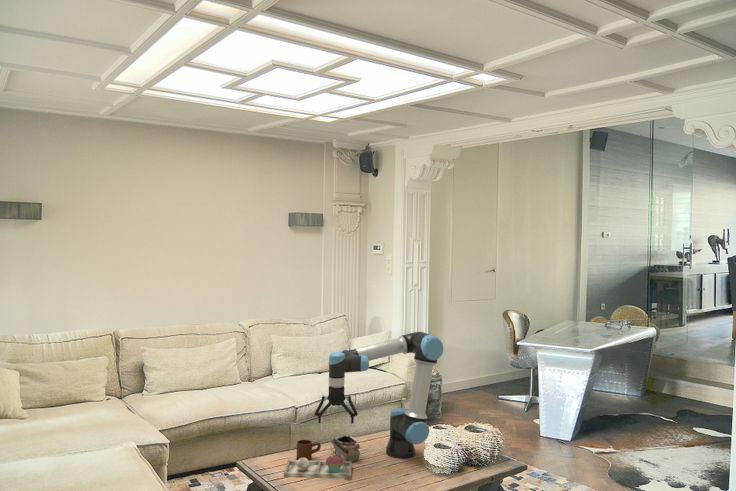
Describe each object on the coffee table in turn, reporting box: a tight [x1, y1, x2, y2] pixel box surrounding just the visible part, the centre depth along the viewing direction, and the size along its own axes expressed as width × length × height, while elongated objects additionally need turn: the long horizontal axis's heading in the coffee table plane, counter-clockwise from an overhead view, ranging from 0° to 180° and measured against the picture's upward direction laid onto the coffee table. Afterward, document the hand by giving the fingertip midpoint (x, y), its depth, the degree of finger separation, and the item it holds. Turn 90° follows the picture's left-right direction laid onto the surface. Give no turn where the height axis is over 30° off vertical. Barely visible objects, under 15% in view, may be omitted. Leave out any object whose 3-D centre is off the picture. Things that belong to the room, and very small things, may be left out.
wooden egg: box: [297, 457, 309, 471], centre depth 290 cm, size 6×6×6 cm
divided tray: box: [283, 459, 352, 481], centre depth 290 cm, size 31×16×2 cm, turn 91°
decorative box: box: [330, 434, 361, 463], centre depth 312 cm, size 13×20×10 cm, turn 20°
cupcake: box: [325, 447, 345, 473], centre depth 290 cm, size 9×8×12 cm
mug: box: [296, 439, 322, 461], centre depth 305 cm, size 12×8×9 cm, turn 99°
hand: (335, 430), depth 290 cm, fingers open, 13 cm apart
